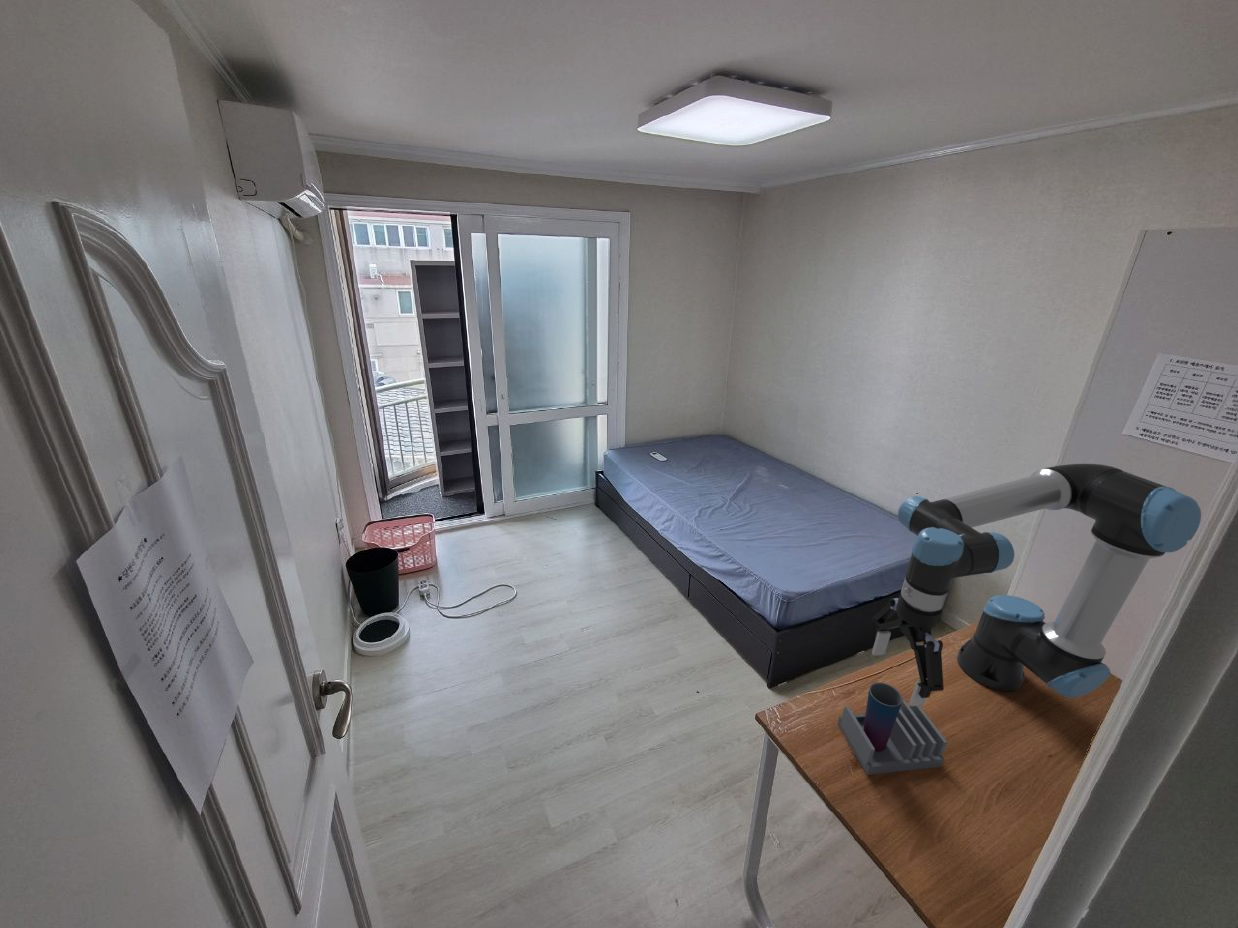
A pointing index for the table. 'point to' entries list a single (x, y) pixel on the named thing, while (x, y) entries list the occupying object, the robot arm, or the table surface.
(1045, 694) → the table surface
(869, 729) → the cup
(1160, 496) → the robot arm
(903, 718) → the rack
